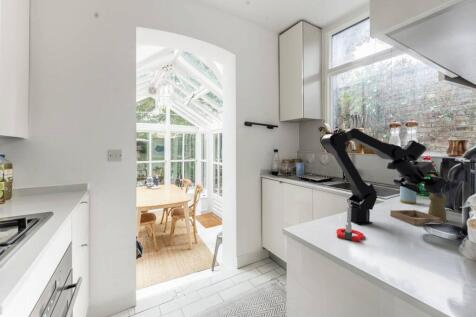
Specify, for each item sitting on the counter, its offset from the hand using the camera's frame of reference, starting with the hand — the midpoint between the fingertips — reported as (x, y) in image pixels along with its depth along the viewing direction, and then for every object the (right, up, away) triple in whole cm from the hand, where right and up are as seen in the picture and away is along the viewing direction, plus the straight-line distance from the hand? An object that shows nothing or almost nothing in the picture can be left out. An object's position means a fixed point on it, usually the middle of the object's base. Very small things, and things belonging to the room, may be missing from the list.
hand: (430, 195), depth 87 cm
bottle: (+13, -9, +28) cm, 32 cm away
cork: (+3, -11, +1) cm, 11 cm away
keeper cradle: (-7, -10, 0) cm, 12 cm away
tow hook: (-42, -12, -15) cm, 46 cm away
